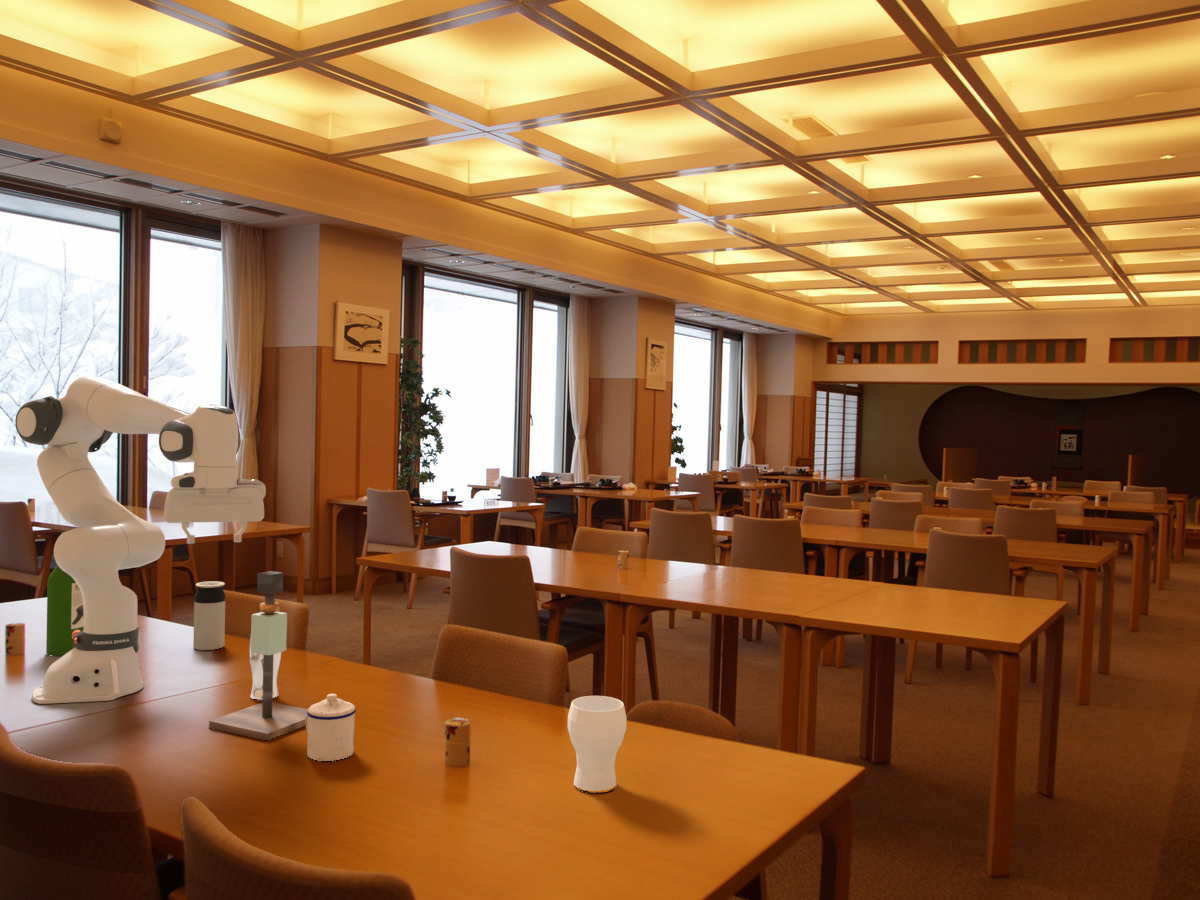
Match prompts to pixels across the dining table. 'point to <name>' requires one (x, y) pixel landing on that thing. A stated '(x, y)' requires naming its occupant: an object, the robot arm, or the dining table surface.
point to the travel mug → (209, 616)
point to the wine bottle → (62, 612)
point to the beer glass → (257, 674)
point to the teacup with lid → (330, 729)
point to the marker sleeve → (268, 633)
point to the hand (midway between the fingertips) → (214, 542)
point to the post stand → (264, 686)
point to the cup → (596, 739)
